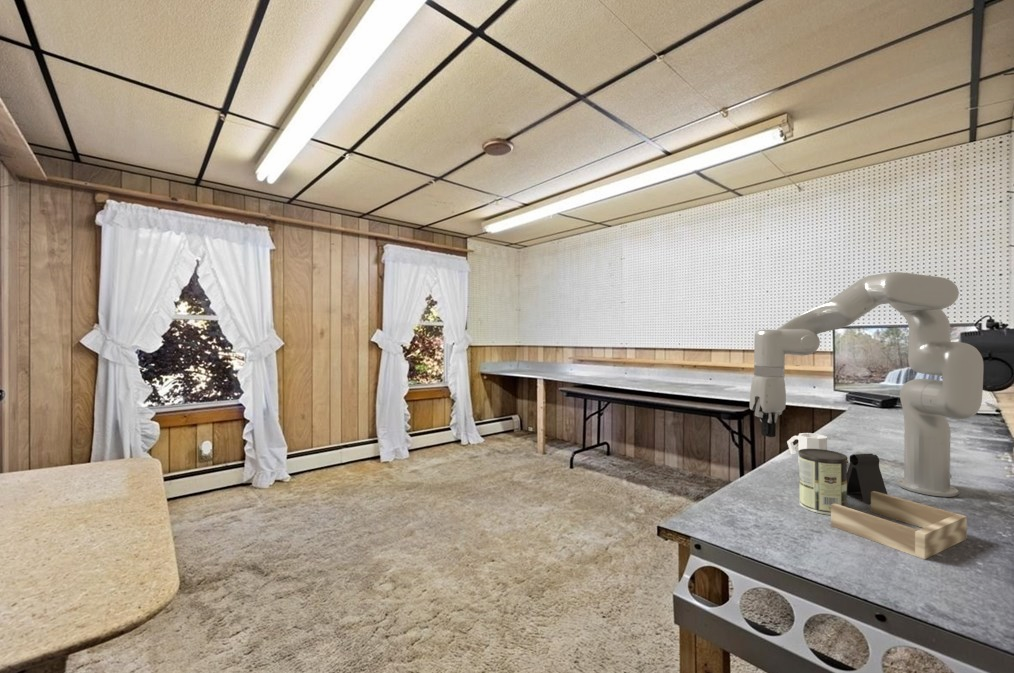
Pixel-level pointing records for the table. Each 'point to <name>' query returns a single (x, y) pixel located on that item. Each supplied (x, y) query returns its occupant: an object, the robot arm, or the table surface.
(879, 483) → the phone stand
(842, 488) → the coffee can
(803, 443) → the mug
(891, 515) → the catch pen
